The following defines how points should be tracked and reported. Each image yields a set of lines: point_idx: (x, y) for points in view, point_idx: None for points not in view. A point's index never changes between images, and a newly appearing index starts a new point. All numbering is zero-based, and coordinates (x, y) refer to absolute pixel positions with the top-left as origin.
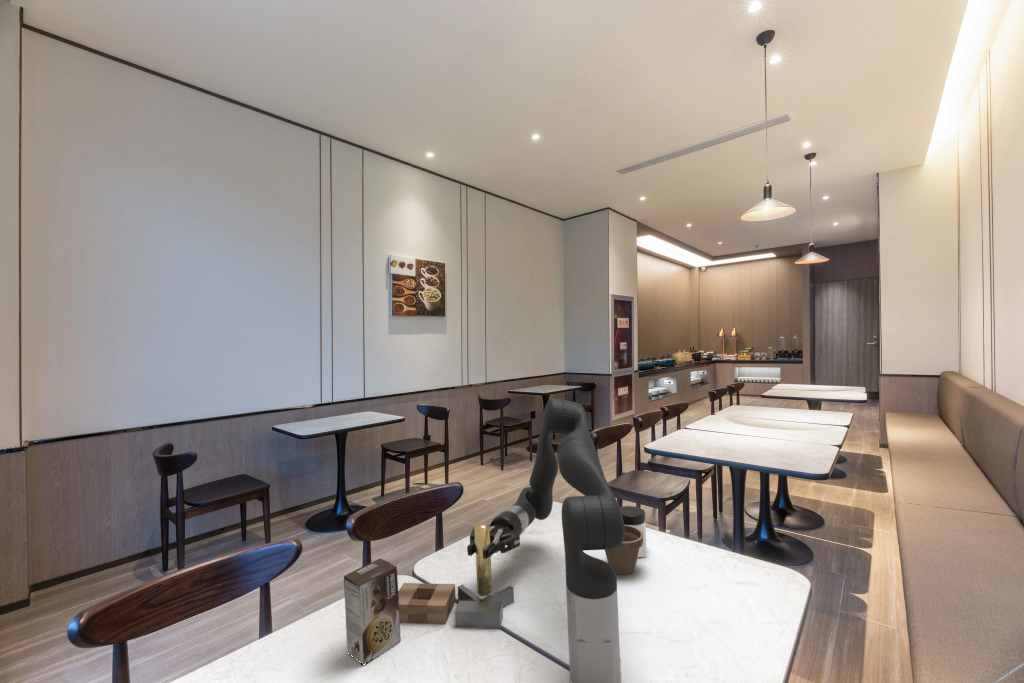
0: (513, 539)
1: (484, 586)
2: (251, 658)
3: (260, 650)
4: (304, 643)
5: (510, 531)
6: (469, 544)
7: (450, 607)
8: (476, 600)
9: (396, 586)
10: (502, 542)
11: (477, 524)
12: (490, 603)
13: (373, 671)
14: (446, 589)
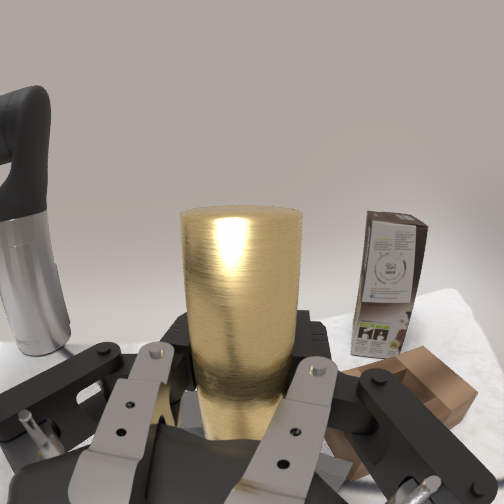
0: (31, 382)
1: None
2: (454, 298)
3: (462, 303)
4: (447, 318)
5: (20, 499)
6: (327, 338)
7: (328, 433)
8: None
9: (367, 258)
10: (106, 348)
11: (280, 212)
12: (197, 419)
13: (334, 319)
14: None
